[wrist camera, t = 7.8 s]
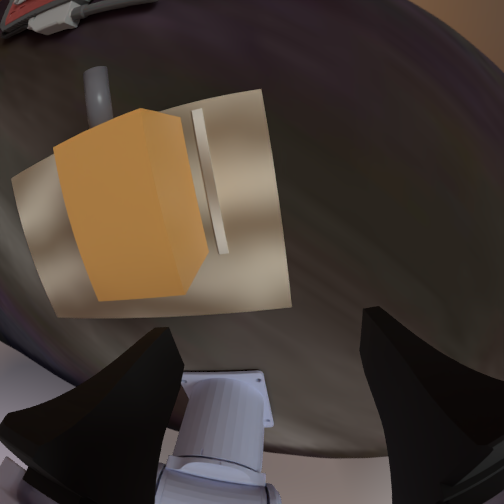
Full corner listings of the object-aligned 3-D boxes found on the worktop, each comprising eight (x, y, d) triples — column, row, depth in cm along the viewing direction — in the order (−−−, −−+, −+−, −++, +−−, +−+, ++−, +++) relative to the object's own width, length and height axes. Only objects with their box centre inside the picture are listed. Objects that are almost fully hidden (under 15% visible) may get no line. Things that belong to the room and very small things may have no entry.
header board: (290, 297, 20) (294, 338, 15) (64, 311, 22) (38, 337, 18) (261, 92, 15) (258, 74, 10) (20, 175, 17) (-16, 187, 13)
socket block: (208, 251, 16) (185, 294, 12) (137, 261, 17) (99, 301, 12) (172, 70, 12) (132, 45, 8) (100, 98, 13) (47, 91, 8)
